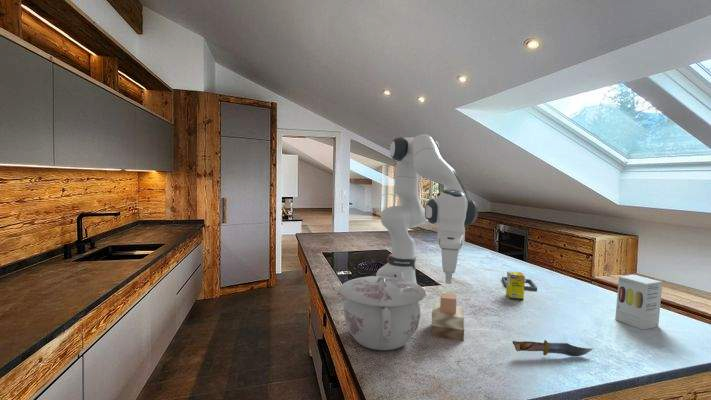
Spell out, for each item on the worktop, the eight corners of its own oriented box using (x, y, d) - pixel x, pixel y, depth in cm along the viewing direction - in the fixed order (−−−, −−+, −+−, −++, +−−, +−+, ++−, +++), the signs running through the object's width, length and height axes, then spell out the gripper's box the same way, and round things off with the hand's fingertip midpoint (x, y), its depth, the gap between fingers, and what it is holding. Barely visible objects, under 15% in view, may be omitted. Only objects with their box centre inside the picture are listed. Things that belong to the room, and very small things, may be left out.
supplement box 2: (614, 319, 125) (617, 275, 124) (629, 316, 128) (633, 273, 127) (643, 330, 116) (647, 283, 115) (659, 326, 120) (663, 281, 118)
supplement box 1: (523, 300, 143) (525, 275, 143) (509, 299, 145) (510, 274, 144) (519, 295, 149) (521, 271, 148) (505, 294, 150) (506, 271, 150)
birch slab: (431, 325, 109) (431, 313, 109) (433, 313, 119) (433, 302, 118) (463, 329, 106) (463, 317, 106) (462, 317, 116) (462, 306, 116)
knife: (591, 355, 99) (592, 339, 99) (594, 357, 98) (595, 341, 97) (510, 355, 98) (511, 339, 98) (512, 357, 97) (513, 341, 97)
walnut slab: (431, 337, 109) (432, 325, 109) (433, 324, 119) (433, 313, 119) (463, 342, 107) (464, 329, 106) (462, 328, 116) (462, 317, 116)
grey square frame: (505, 287, 160) (505, 284, 160) (501, 279, 173) (502, 276, 173) (537, 290, 156) (537, 287, 156) (530, 282, 169) (530, 279, 169)
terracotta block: (440, 312, 110) (440, 297, 110) (440, 306, 115) (440, 292, 115) (455, 314, 109) (456, 299, 109) (455, 308, 114) (455, 294, 113)
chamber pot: (372, 314, 126) (373, 261, 124) (439, 337, 108) (441, 275, 107) (319, 342, 104) (319, 277, 103) (392, 376, 87) (394, 299, 85)
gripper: (442, 232, 121) (440, 269, 123) (439, 243, 102) (437, 287, 103) (460, 234, 120) (458, 271, 121) (461, 245, 100) (458, 289, 101)
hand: (448, 278), depth 112 cm, fingers open, 8 cm apart
